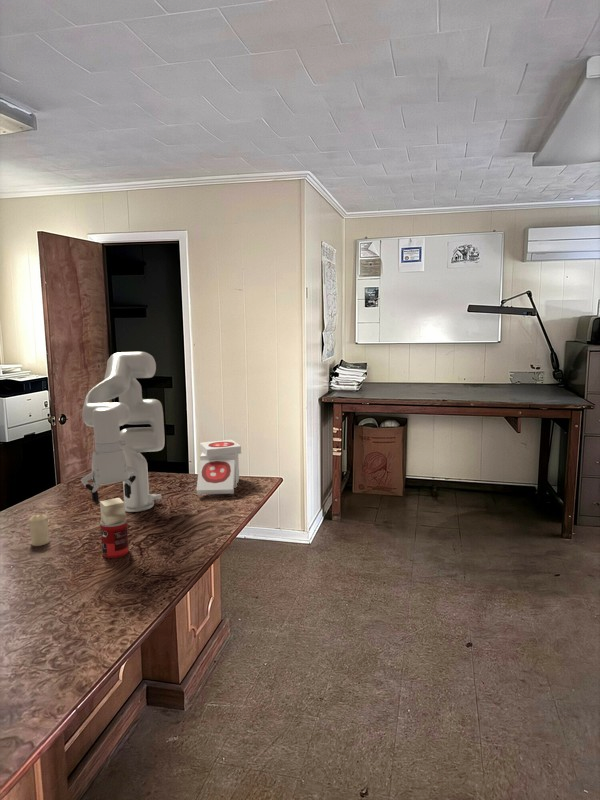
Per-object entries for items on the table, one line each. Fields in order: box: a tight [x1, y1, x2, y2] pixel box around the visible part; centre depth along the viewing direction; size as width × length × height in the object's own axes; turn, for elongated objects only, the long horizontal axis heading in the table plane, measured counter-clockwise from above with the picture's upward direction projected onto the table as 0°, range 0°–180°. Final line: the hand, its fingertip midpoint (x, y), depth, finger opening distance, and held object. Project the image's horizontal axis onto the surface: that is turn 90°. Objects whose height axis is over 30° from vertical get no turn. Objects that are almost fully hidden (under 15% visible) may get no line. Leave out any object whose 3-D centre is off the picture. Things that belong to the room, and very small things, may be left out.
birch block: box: [99, 497, 127, 525], centre depth 180 cm, size 6×6×6 cm
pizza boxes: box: [196, 439, 242, 495], centre depth 248 cm, size 19×30×18 cm, turn 1°
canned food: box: [99, 519, 129, 559], centre depth 182 cm, size 8×8×11 cm
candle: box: [28, 512, 50, 547], centre depth 192 cm, size 6×6×10 cm
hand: (112, 500), depth 180 cm, fingers open, 9 cm apart
